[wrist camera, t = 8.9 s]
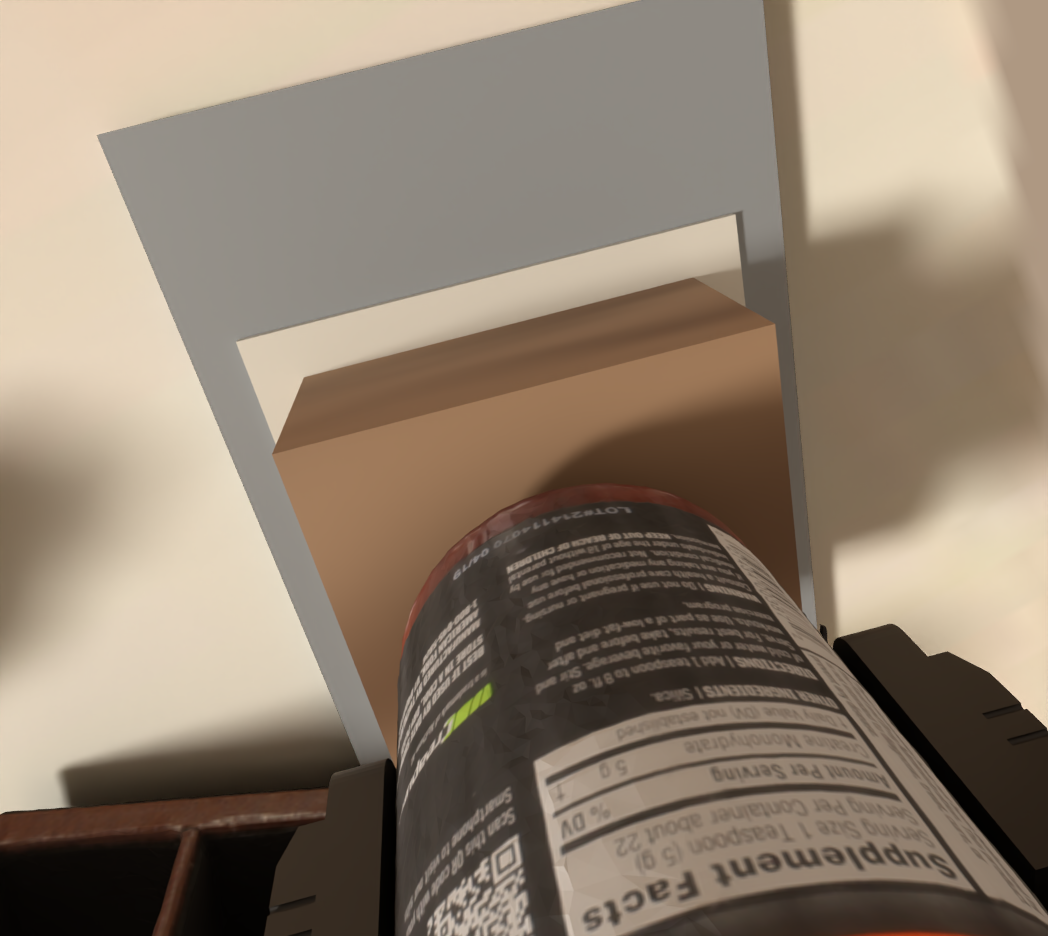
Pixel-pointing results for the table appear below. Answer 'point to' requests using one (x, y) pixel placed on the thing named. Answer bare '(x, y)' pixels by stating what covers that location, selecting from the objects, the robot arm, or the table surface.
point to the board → (457, 225)
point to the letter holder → (149, 865)
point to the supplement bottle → (659, 748)
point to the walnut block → (531, 446)
